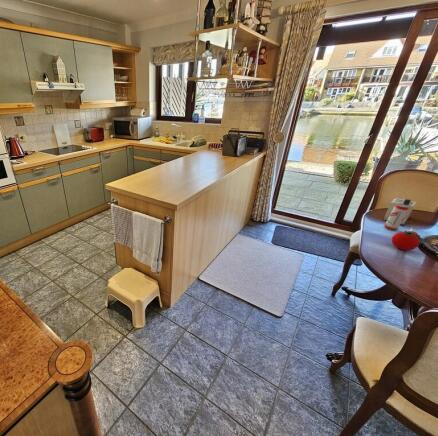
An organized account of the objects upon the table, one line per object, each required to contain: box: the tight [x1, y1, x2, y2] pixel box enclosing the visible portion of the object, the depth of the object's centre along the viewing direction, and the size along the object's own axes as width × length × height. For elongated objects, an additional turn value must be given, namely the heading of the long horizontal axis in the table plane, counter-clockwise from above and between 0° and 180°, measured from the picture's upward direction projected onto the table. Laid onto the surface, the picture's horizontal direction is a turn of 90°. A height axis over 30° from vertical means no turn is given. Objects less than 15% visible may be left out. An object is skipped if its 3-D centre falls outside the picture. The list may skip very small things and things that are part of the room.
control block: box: [417, 234, 424, 247], centre depth 139 cm, size 10×8×4 cm
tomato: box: [390, 229, 419, 251], centre depth 131 cm, size 10×10×10 cm
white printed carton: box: [382, 197, 417, 226], centre depth 161 cm, size 10×12×13 cm
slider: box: [403, 198, 412, 205], centre depth 154 cm, size 2×2×3 cm
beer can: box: [384, 204, 408, 231], centre depth 149 cm, size 6×6×16 cm
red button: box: [407, 230, 419, 236], centre depth 138 cm, size 4×4×2 cm
